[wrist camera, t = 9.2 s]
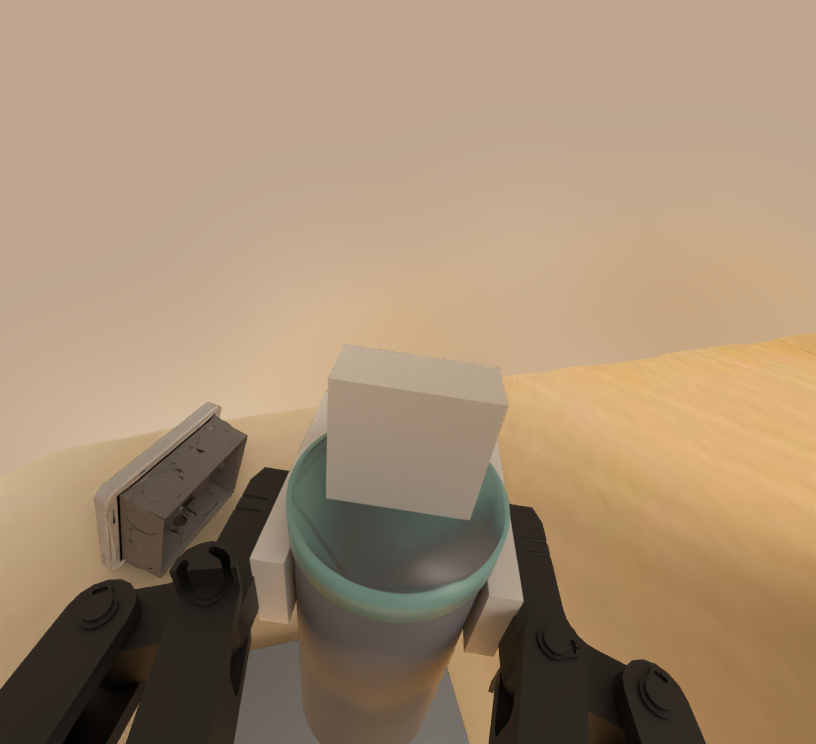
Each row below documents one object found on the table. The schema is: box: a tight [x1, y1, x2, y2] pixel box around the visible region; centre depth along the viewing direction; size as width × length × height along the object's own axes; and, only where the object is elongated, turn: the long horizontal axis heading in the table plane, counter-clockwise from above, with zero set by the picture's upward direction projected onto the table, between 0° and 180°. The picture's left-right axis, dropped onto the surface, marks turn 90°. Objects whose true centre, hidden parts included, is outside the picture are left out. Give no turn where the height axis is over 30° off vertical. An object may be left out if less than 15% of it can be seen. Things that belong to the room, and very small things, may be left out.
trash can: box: [286, 344, 510, 744], centre depth 10 cm, size 5×5×13 cm
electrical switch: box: [94, 402, 247, 578], centre depth 27 cm, size 9×5×9 cm, turn 164°
